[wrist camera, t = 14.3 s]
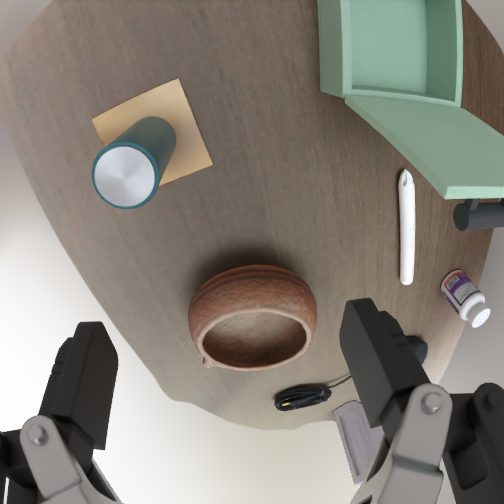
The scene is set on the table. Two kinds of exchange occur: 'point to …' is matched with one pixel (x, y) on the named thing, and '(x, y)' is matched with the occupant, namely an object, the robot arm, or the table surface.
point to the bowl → (252, 318)
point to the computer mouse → (318, 395)
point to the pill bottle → (465, 298)
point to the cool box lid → (444, 152)
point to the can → (134, 163)
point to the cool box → (392, 49)
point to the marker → (407, 227)
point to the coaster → (170, 109)
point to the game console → (357, 438)
